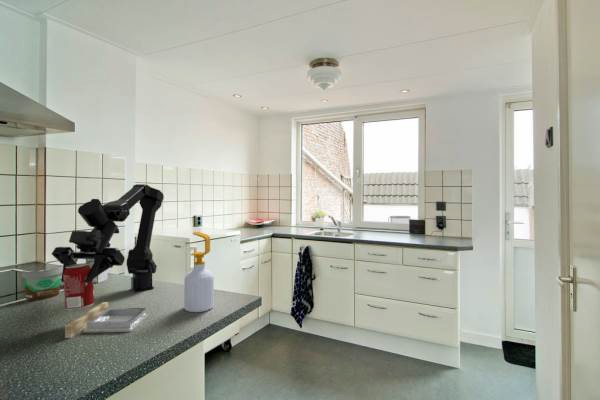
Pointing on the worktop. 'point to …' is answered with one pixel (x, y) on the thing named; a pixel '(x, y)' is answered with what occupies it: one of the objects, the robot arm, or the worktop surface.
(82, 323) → the oak threshold
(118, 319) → the tray
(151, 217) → the robot arm
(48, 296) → the food container
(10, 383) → the worktop surface
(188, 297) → the soap bottle
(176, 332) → the worktop surface
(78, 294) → the soda can
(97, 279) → the syrup box
